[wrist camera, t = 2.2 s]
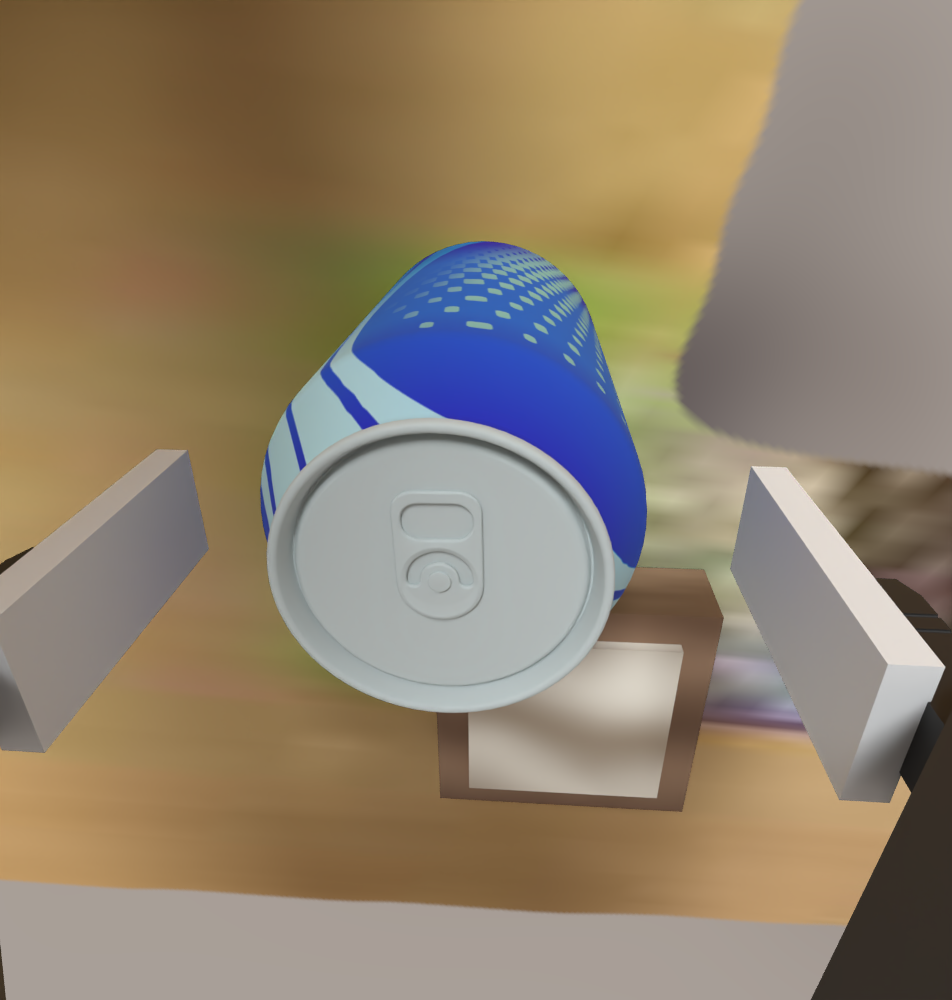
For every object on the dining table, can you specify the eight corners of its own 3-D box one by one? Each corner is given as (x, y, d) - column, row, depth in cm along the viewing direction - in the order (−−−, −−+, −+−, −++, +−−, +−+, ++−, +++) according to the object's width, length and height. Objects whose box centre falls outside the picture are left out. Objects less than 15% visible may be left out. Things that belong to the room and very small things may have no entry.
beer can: (639, 334, 26) (768, 567, 12) (501, 483, 30) (476, 800, 15) (466, 184, 24) (379, 255, 10) (340, 364, 27) (142, 604, 13)
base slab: (442, 560, 32) (431, 613, 28) (704, 569, 31) (726, 625, 27) (447, 743, 37) (439, 806, 34) (669, 754, 37) (683, 820, 33)
